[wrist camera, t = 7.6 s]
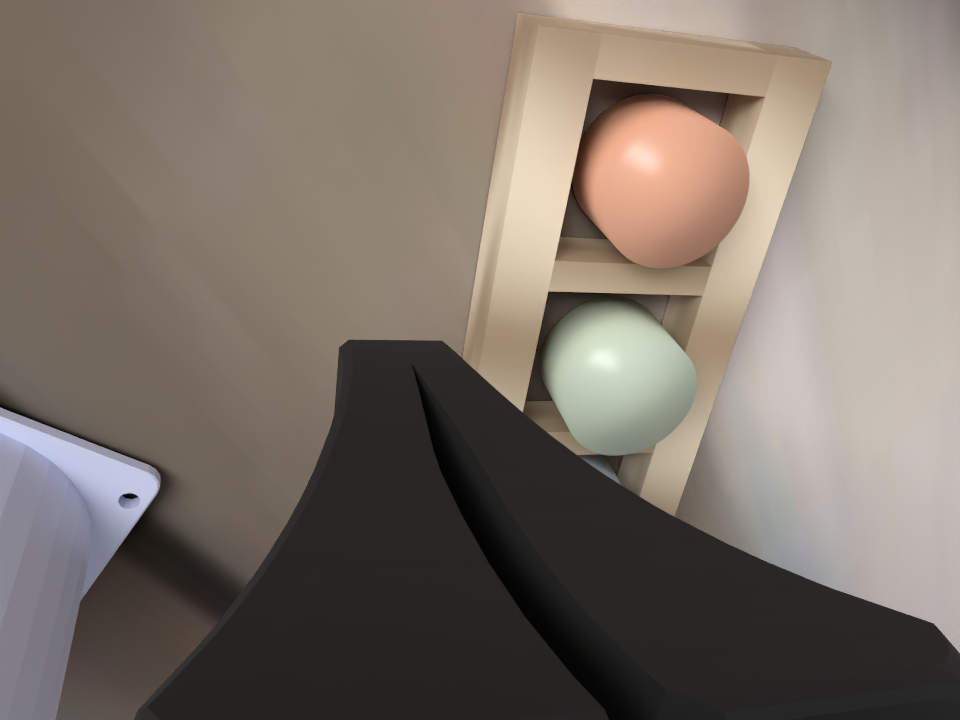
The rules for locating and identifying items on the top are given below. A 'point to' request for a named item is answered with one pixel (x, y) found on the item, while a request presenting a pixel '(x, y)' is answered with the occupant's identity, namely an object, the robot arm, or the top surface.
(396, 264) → the top surface
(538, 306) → the button panel
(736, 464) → the top surface
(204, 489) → the top surface
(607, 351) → the sage button
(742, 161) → the terracotta button
